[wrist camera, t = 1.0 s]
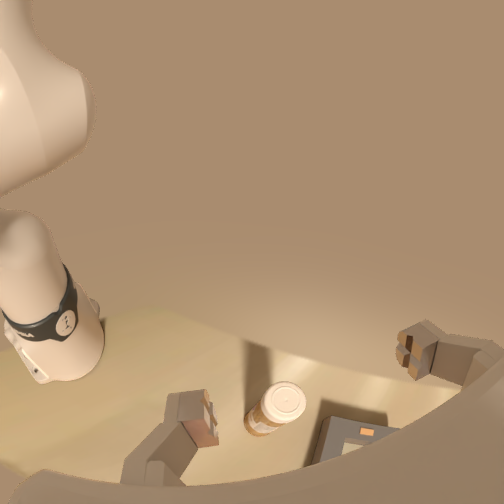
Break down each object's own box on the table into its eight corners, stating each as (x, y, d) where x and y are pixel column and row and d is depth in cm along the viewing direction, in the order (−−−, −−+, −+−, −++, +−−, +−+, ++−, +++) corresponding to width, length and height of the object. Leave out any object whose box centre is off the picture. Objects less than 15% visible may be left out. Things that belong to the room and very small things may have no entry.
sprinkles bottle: (249, 405, 35) (271, 374, 26) (278, 414, 35) (311, 387, 26) (238, 431, 32) (258, 412, 23) (269, 441, 31) (301, 425, 22)
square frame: (301, 494, 25) (309, 495, 23) (323, 419, 35) (332, 415, 33) (375, 500, 24) (387, 500, 21) (389, 432, 33) (400, 428, 31)
